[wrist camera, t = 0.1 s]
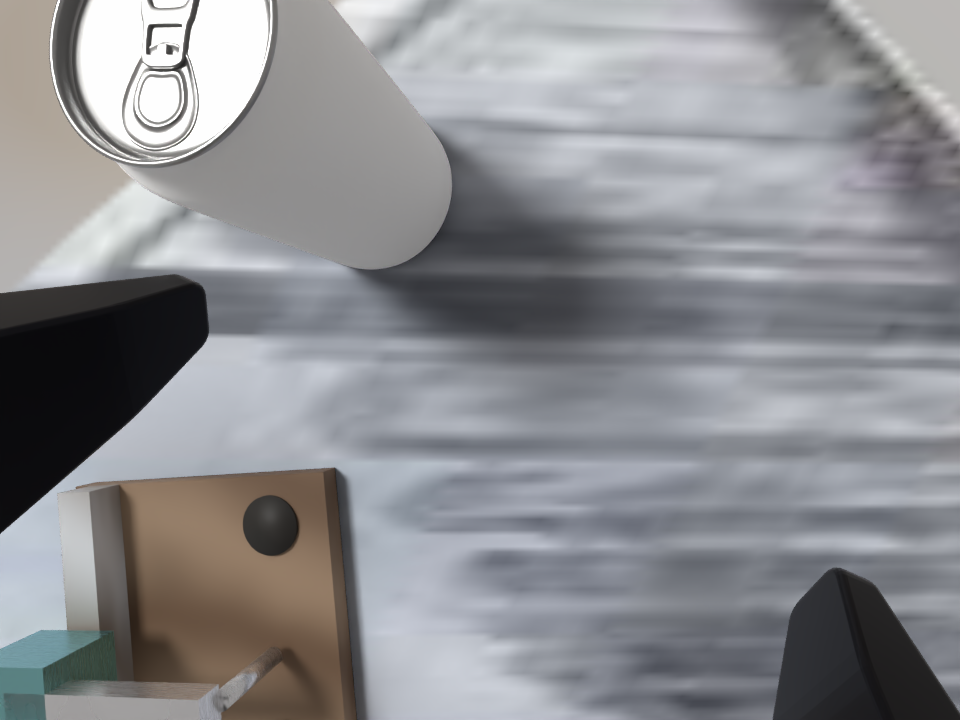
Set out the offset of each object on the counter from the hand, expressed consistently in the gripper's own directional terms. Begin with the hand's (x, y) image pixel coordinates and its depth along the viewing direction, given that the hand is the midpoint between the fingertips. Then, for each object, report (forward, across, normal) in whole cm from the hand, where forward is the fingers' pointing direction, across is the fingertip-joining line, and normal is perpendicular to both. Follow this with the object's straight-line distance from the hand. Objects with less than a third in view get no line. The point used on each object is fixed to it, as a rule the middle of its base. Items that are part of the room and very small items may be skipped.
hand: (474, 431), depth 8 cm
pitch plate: (+4, +10, +21) cm, 23 cm away
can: (+15, +10, +4) cm, 19 cm away
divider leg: (+2, +11, +21) cm, 24 cm away
